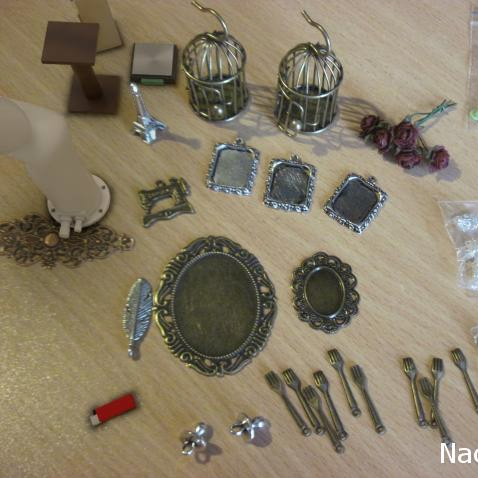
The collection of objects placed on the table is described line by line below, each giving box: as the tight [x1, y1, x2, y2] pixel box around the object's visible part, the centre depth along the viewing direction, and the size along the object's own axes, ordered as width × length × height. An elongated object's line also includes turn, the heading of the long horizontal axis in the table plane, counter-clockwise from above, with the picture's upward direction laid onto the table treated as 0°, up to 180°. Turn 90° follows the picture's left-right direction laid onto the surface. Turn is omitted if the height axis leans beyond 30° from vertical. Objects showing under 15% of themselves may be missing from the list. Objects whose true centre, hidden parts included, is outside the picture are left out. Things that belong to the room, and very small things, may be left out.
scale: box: [129, 42, 178, 86], centre depth 131 cm, size 11×10×3 cm
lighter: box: [89, 392, 137, 427], centre depth 103 cm, size 3×1×8 cm
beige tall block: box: [69, 0, 123, 53], centre depth 124 cm, size 8×7×21 cm
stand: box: [40, 20, 120, 115], centre depth 119 cm, size 10×10×18 cm
